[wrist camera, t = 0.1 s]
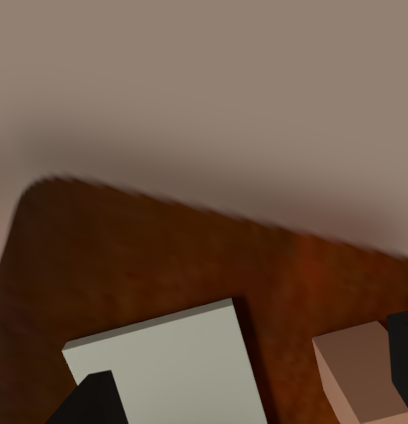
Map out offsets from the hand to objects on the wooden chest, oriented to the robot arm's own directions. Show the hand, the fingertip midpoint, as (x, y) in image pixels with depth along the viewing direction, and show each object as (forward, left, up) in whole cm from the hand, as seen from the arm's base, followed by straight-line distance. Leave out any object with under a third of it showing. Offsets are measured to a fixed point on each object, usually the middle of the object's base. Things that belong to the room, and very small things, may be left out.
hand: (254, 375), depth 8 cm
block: (-9, -6, -10) cm, 15 cm away
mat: (-9, +5, -10) cm, 15 cm away
